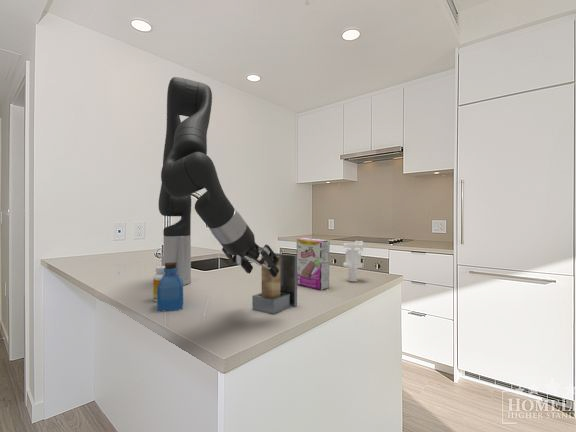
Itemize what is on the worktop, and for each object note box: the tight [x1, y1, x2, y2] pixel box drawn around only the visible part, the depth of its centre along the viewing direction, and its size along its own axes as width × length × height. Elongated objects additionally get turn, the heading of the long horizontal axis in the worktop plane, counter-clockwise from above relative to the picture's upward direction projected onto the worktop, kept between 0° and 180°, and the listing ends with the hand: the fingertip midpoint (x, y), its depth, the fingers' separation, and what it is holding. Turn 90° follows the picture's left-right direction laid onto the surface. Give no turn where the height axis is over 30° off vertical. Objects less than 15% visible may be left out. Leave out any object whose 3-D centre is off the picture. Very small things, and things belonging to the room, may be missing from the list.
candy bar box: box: [296, 237, 330, 291], centre depth 109 cm, size 11×5×16 cm, turn 47°
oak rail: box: [261, 256, 281, 299], centre depth 85 cm, size 4×4×13 cm
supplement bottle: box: [152, 265, 165, 302], centre depth 93 cm, size 5×5×10 cm
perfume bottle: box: [156, 262, 184, 312], centre depth 86 cm, size 6×6×12 cm
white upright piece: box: [342, 240, 364, 282], centre depth 118 cm, size 7×7×15 cm
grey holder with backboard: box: [251, 252, 298, 315], centre depth 86 cm, size 9×9×14 cm
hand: (262, 272), depth 82 cm, fingers open, 8 cm apart
